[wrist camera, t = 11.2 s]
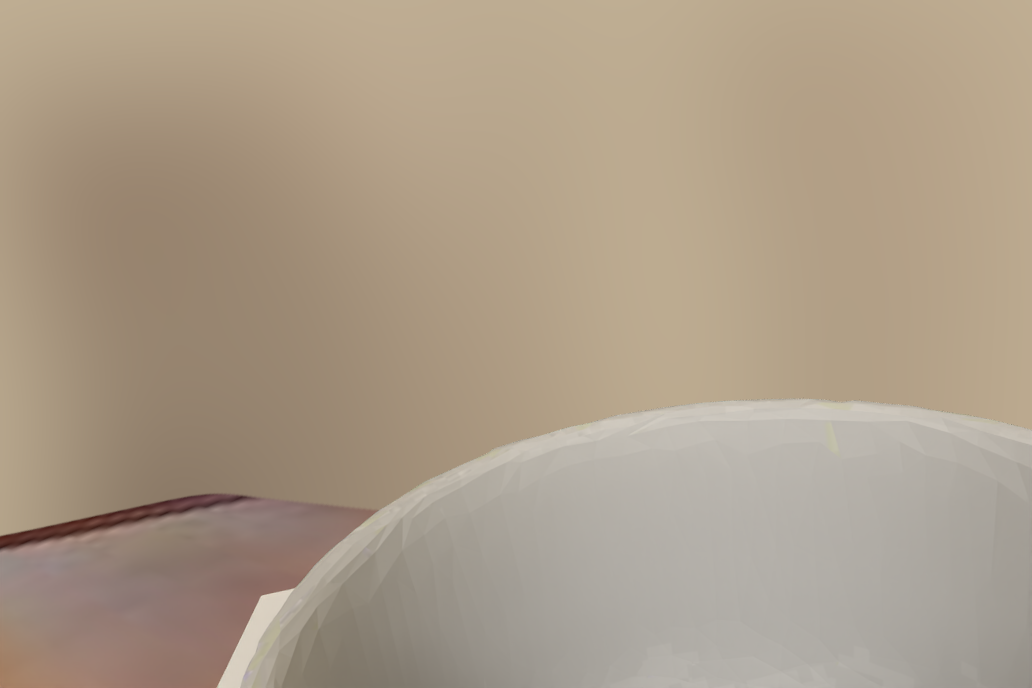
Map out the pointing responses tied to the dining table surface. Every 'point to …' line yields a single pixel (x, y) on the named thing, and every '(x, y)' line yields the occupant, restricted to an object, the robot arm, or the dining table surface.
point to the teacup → (688, 560)
